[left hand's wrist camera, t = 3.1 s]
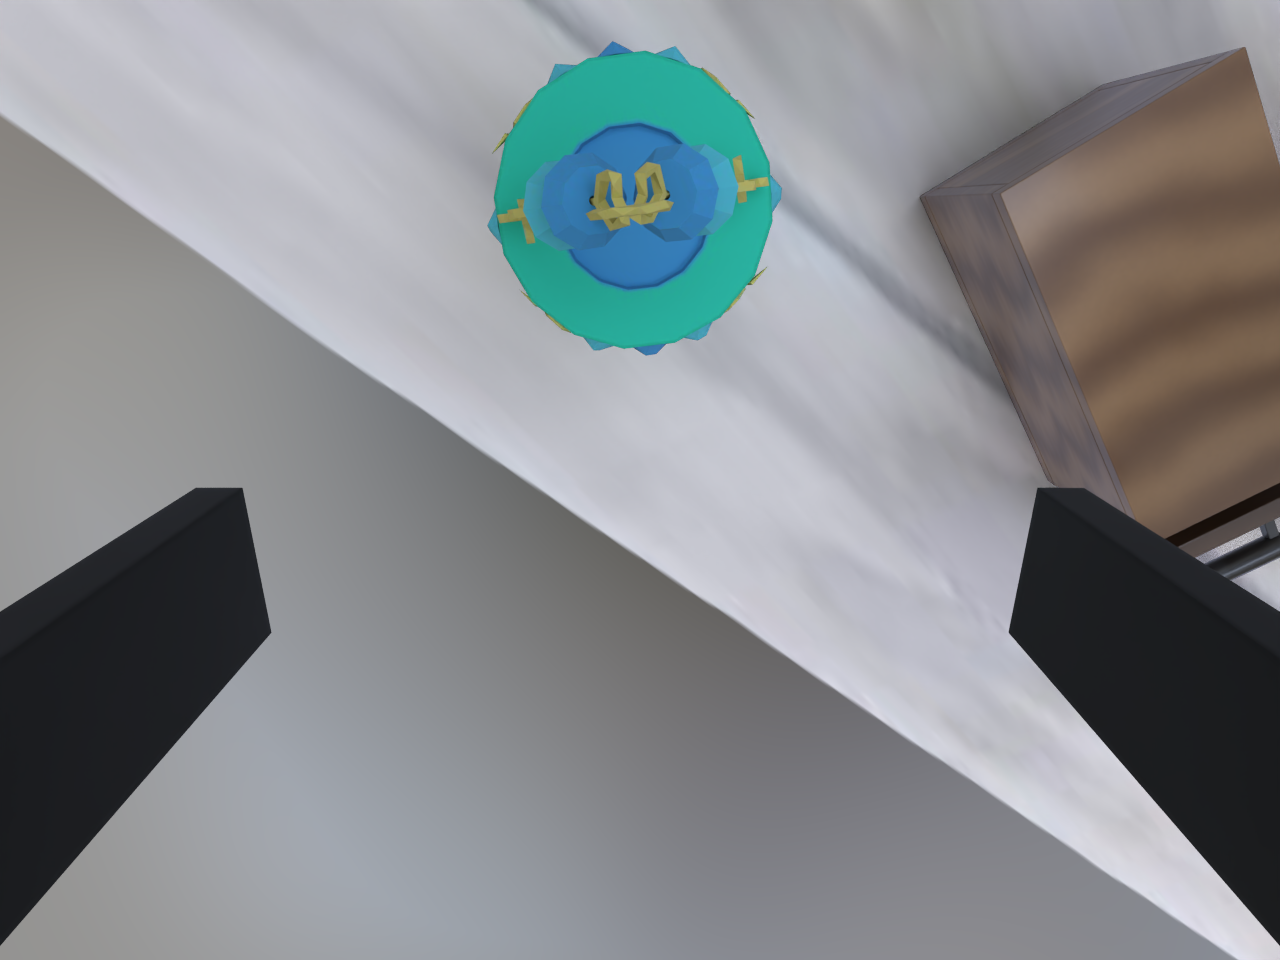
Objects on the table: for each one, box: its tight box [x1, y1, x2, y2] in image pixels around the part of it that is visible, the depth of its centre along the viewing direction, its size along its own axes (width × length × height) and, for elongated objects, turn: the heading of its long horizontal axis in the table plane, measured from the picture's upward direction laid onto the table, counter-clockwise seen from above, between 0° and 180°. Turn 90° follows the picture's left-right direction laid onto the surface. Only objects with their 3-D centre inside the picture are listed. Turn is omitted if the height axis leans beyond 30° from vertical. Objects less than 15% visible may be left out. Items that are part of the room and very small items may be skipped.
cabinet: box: [920, 47, 1280, 539], centre depth 41 cm, size 21×11×10 cm, turn 32°
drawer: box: [1165, 483, 1280, 581], centre depth 43 cm, size 26×10×9 cm, turn 32°
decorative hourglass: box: [488, 41, 782, 355], centre depth 30 cm, size 11×11×30 cm
